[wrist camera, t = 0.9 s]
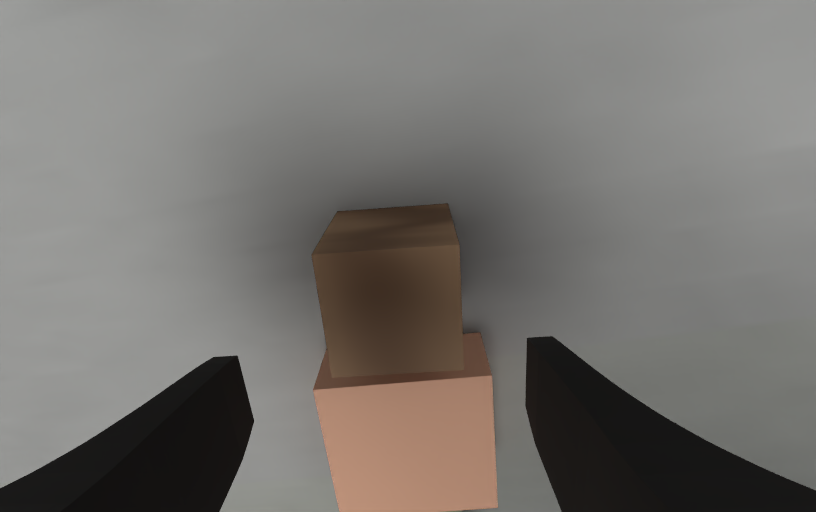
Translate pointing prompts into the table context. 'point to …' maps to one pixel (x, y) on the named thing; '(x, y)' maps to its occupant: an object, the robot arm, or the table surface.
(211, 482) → the robot arm
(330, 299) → the walnut block
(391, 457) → the base block
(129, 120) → the table surface
